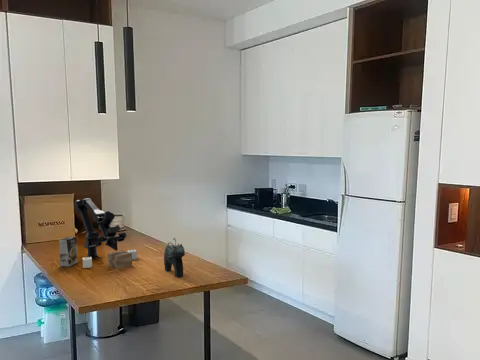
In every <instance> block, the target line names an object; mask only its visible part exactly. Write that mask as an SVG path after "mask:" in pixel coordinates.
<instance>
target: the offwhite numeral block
mask: <svg viewBox="0 0 480 360" xmlns="http://www.w3.org/2000/svg"><path fill="white" fill-rule="evenodd" d="M92 258H93V257H87V256H86V257H82V268H83V269H85V268H87V269H88V268H92V267H93V259H92Z"/></svg>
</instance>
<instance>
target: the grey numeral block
mask: <svg viewBox="0 0 480 360" xmlns="http://www.w3.org/2000/svg"><path fill="white" fill-rule="evenodd" d="M127 252H130V253H132V261H134V260H138V259H137V258H138V256H137V255H138V253H137V250H136V249H128V250H127Z"/></svg>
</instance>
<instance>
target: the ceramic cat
mask: <svg viewBox="0 0 480 360" xmlns="http://www.w3.org/2000/svg"><path fill="white" fill-rule="evenodd" d="M172 240H173V241H174V242H175V244H173V242H168V243H167V245H166V246H165V248H164V254H163V264H164V265H163V266H164V271H165V272H171V271H172V269H174V277H176V278H177V279H178V278H183V277H184V263H183V257H184V256H185V255H186V254H185V248H184V246H183V244H182V243H178V244H177V239H176V238H173V239H172ZM172 267H173V268H172Z"/></svg>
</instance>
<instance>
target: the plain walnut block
mask: <svg viewBox="0 0 480 360" xmlns="http://www.w3.org/2000/svg"><path fill="white" fill-rule="evenodd" d="M107 263H108V264H107V266H108V267H111V268H114V269H117V270H118V269H122V268H127V267H130V266H133V260H132V253H130V252H127V251H126V250H119V251H118V250H117V251H114V252H110V253H109V252H108V253H107Z"/></svg>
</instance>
